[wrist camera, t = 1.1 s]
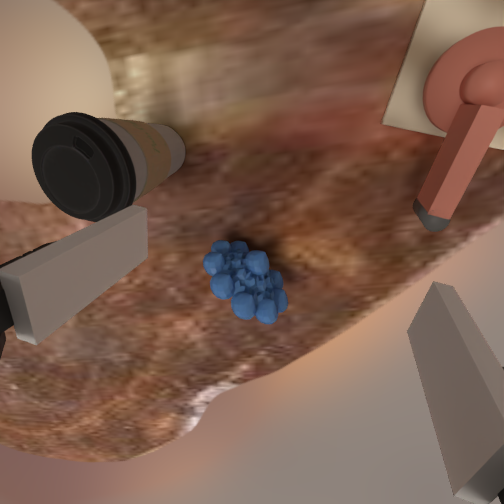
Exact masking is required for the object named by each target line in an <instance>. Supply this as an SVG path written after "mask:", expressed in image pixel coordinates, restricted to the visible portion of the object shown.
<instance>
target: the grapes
mask: <svg viewBox="0 0 504 504" xmlns="http://www.w3.org/2000/svg"><path fill="white" fill-rule="evenodd" d="M203 266H204V268H205V271H206V272H207V273H208V274H209V275H211V276H212V279H211V281H210V286H211V290H212V292H213V294H214V295H215V296H216V297H217V298H220V299H229V298H230V297H232V296H233V297H232V300H231V306H232V310H233V312H234V314H235V315H236V316H238V317H239V318H241V319H251V318H252V317H253V316H254V315H255V316H256V318H257V319H258V320H259V321H260V322H261V323H264V324H273V323H274V322H275V321H276V320H277V317H278V312H283V311H285V310H286V309H287V306H288V299H287V295H286V293H285V291H284V290H282V287H283V278H282V276H281V274H280V272H279V271H276V270H269V260H268V257H267V255H266V253H265V252H263V251H259V250H253V251H251V252H249V249H248V246H247V244H246V243H245V242H243V241H234V242H232V243H231V244H230V243H229V242H228V241H225V240H218V241H216V242H214V243H213V245H212V247H211V252H209V253H208V254H206V255H205V257H204V259H203Z"/></svg>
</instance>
